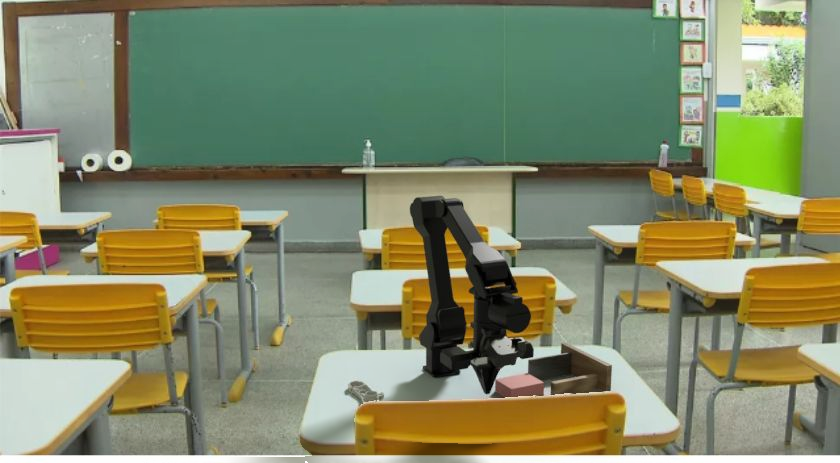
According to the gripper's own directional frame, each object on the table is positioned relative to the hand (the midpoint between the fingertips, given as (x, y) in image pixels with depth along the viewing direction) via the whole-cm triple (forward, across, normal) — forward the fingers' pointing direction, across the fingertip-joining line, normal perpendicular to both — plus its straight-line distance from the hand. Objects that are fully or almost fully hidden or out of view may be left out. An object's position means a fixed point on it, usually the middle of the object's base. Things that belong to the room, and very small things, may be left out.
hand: (486, 393), depth 154 cm
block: (+2, +8, 0) cm, 8 cm away
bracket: (+2, -22, +10) cm, 25 cm away
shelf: (+1, +19, 0) cm, 19 cm away
